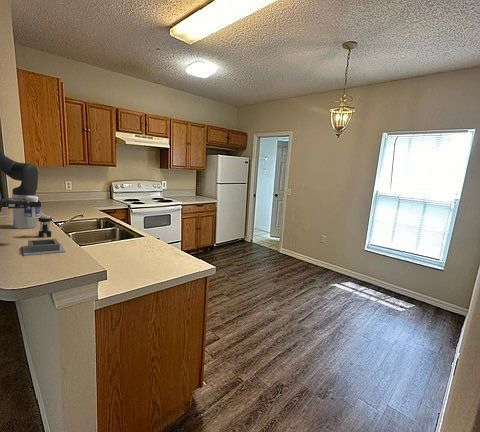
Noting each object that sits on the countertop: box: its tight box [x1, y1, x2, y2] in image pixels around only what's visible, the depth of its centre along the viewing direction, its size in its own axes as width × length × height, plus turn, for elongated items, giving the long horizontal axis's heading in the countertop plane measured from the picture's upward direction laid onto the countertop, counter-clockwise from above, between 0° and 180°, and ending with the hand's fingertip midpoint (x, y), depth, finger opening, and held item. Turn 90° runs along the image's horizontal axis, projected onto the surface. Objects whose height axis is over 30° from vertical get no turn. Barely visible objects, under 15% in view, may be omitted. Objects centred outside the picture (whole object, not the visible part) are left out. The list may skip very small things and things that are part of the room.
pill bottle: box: [24, 196, 41, 219], centre depth 109 cm, size 5×5×9 cm
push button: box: [37, 214, 53, 238], centre depth 122 cm, size 7×5×10 cm
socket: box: [21, 238, 66, 257], centre depth 105 cm, size 13×13×3 cm
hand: (40, 203), depth 111 cm, fingers closed on pill bottle, 5 cm apart
